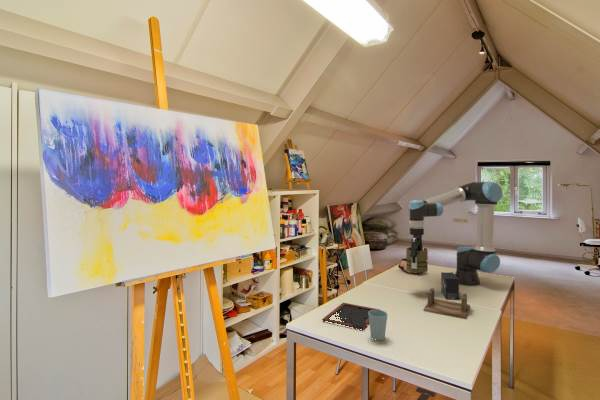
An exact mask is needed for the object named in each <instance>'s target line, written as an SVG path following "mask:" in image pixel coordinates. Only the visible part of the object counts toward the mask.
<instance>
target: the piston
mask: <svg viewBox="0 0 600 400" xmlns="http://www.w3.org/2000/svg"><path fill="white" fill-rule="evenodd" d="M405 250H406V253H405V257H406V258H405V259H408V260H406V263H407V264H406V269H407V270H408V271H411V272H418V273H420V274H422V273H421V272H423V273H427V272H428V270H429V269H428V264H429V263H428V260H429V259H428V258H429V257H428V248H425V247H423V251H419V252H418V251H417V255H416V257H417V269H414V268H412V257H410V255H411V246H408V247H406V249H405Z"/></svg>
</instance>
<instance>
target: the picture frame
mask: <svg viewBox="0 0 600 400" xmlns="http://www.w3.org/2000/svg"><path fill="white" fill-rule="evenodd" d="M371 310H381V309H380V308H374V307H369V306H365V305H364V306H363V305H358V304H352V303H347V302H342V303H341V304H340V305H338V306H337V307H336V308H334V309H333V310H332V311H331V312H330V313H328V314H327V315H325V316H324V317H323V318H322V319H321V321H322V320H323V321H328V322H332V323H337V324H341V325H345V326H349V327H353V328H357V329H362V330H364V329H365V327H366V326H367V325H368V324H369V315H368V312H369V311H371ZM340 311H341V312H340ZM336 312H337V314H338V313H339V316H338V315H337V316H338V317H340V320H341V321H342V322H340V321H335V320H330V319H329V318H330V317H331V316H332V315H334V314H336ZM337 316H336V315H335V317H337ZM341 318H342V319H341ZM345 318H346V319H345ZM336 319H337V318H336ZM338 319H339V318H338ZM343 321H344V322H343ZM369 325H370V324H369ZM369 325H368V326H369ZM368 326H367V327H368ZM367 327H366V328H367ZM365 330H366V329H365ZM365 330H364V331H365Z"/></svg>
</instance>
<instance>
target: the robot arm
mask: <svg viewBox="0 0 600 400" xmlns="http://www.w3.org/2000/svg"><path fill="white" fill-rule="evenodd" d="M502 197H503V190H502V187H501V185H499V183H497V182H495V181H473V182H469V183H465V184H463V185H461V186H457V187H455V188H454V189H453V190H450V191H447V192H445V193H441V194H438V195H436V196H432V197H429V198H426V199H423V200H422V199H419V200H417V199H416V200H415V199H414V200H413V199H412V200H410V201H409V205H408V211H409V221H408V224H409V227H410V228H409V235H411V236H413V237H412V238H411V242H410V243H411V245H410V247H411V255H410V257H412V268H414V269H417V257H416V255H417V251H418V252H419V251H423V250H424V247H423V235H424V234H425V230H424V227H425V225H424V224H425V218H427V217H435V218H436V217H440V216H442V215H443V213H444V207H446V206H448V205H449V206H450V205H452V204H454V203H458V202H460V203H462V202H467V201H474V205H476V207H477V218H476V219H477V222H476V246H459V247H457V248H456V271H455V273H454V274H455V275H456V276H457V277H458V278H459V285H463V286H478V285H480V283H481V280H480V277H479V274H478V271H480V272H482V273H488V274H491V273H494V272H496V271H497V270H498V269H499V268H500V266H501V259H500V257H499V255H497V254H496V252H497V251H496V249H495V248H494V220H495V219H494V217H495V207H497V205H498V202H499V201H500V200H501V199H502Z"/></svg>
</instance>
